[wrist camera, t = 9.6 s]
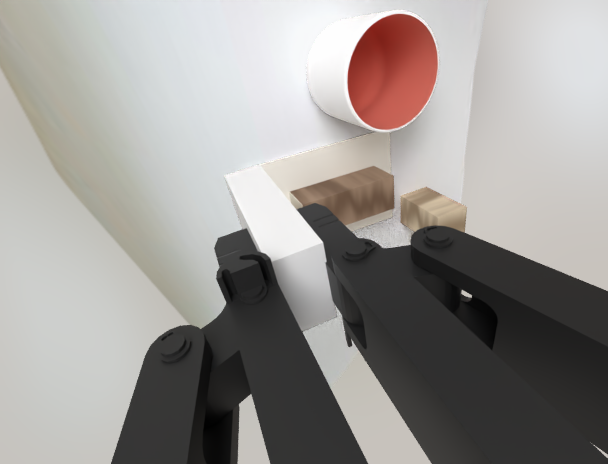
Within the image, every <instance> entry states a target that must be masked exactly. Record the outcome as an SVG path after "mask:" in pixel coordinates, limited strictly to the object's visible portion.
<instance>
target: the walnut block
mask: <svg viewBox="0 0 608 464" xmlns="http://www.w3.org/2000/svg"><path fill="white" fill-rule="evenodd" d="M289 195H290V200H291V204H292V205H293V206H294V207H295V209H299V208H302V207H304V206H307V205H310V204H313V203H317V204H320V205H323V206H326V207H327V208H328V209H329V210H330V211H331V212H332V213H333V215H335V216H336V217H337V218H338V219H339V221H341V222H342V223H343V224H344V225H348V224H351V223H354V222H357V221H360V220H362V219H365V218H368V217H371V216H374V215H377V214H380V213H383V212H385V211H388V210H391V209H394V176H393V175H391V174H389V173H387V172H385V171H383V170H381V169H379V168H377V167H375V166H371V167H368V168H365V169H362V170H358V171H355V172H352V173H349V174H345V175H342V176H339V177H336V178H332V179H329V180H326V181H323V182H319V183H316V184H313V185H310V186H306V187H303V188H300V189H297V190H293V191H290V192H289Z"/></svg>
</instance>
